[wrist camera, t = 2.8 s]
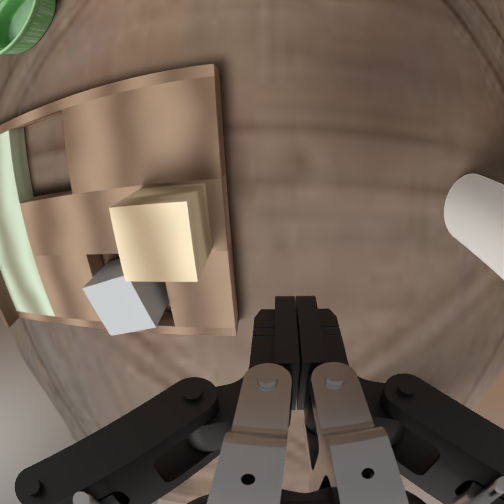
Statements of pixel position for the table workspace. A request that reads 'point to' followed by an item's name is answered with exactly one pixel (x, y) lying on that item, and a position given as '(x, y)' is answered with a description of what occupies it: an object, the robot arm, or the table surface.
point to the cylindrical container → (478, 218)
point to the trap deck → (116, 198)
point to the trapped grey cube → (125, 300)
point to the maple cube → (163, 233)
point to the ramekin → (23, 23)
